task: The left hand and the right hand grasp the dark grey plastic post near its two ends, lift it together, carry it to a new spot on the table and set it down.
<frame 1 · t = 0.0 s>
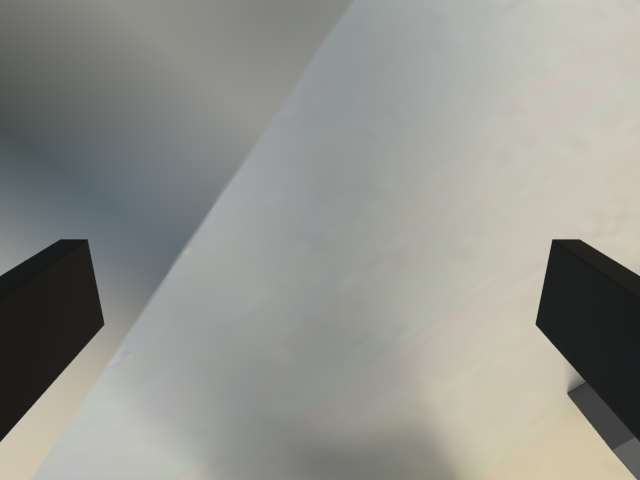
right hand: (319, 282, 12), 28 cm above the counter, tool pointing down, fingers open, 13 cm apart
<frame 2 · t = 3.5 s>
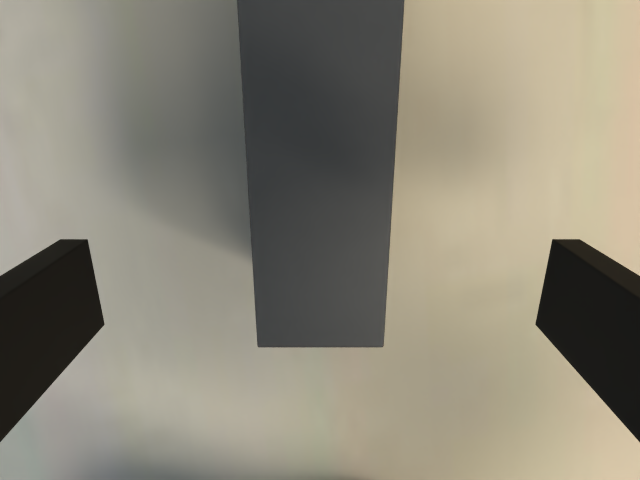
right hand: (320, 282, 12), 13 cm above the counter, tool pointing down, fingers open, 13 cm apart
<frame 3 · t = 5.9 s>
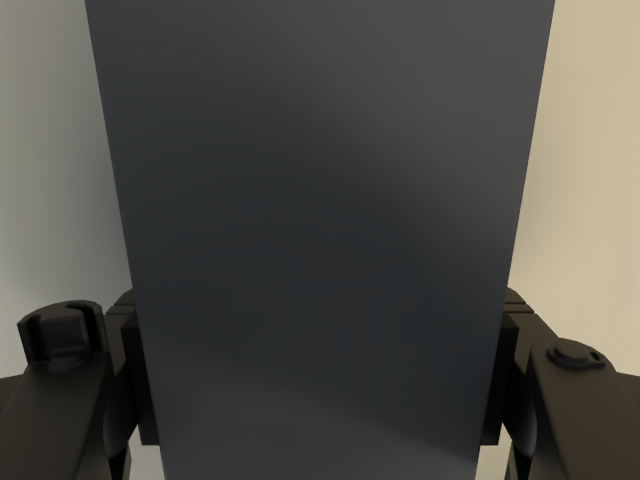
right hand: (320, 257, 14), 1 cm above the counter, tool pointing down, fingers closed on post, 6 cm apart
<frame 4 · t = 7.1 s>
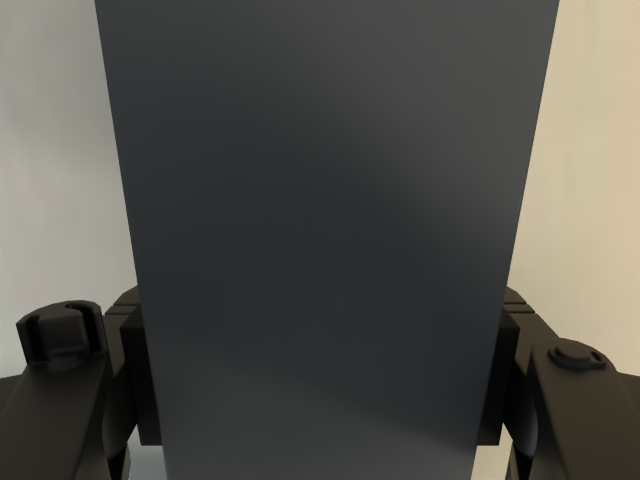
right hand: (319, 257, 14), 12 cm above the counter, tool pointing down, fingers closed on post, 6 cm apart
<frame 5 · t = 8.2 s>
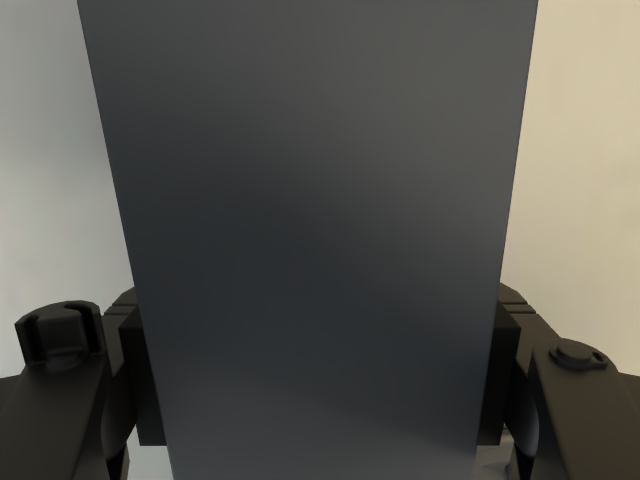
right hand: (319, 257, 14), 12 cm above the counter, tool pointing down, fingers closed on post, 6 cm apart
when the right hand's fingers open (2 cm above the counter, at t = 10.5 s): post drops 1 cm, on the counter.
when the left hand's fingers open (4 cm above the counter, at t = 10.7 s): post stays where it is, on the counter.
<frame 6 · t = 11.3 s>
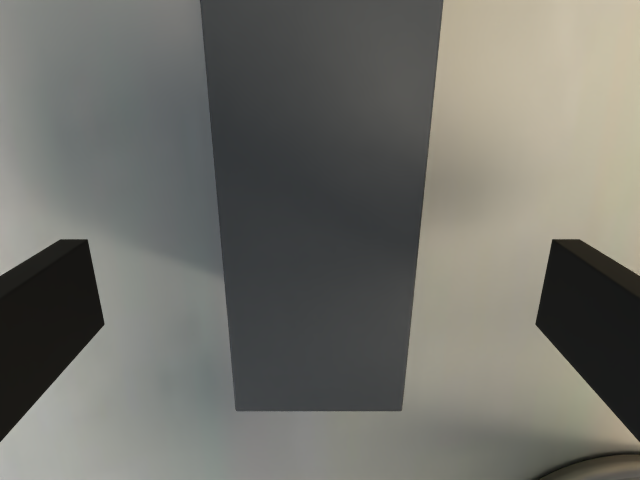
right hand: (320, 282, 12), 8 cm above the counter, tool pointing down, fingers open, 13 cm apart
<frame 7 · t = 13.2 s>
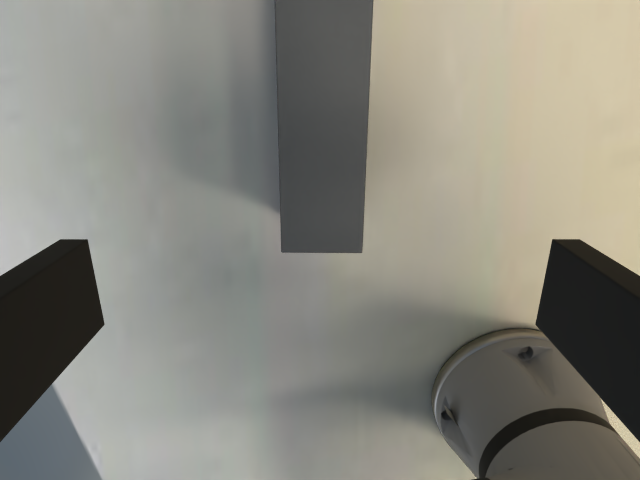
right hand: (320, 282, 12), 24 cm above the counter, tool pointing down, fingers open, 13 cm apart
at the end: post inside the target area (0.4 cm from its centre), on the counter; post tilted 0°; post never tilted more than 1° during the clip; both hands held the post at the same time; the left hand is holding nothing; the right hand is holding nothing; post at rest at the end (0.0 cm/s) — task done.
